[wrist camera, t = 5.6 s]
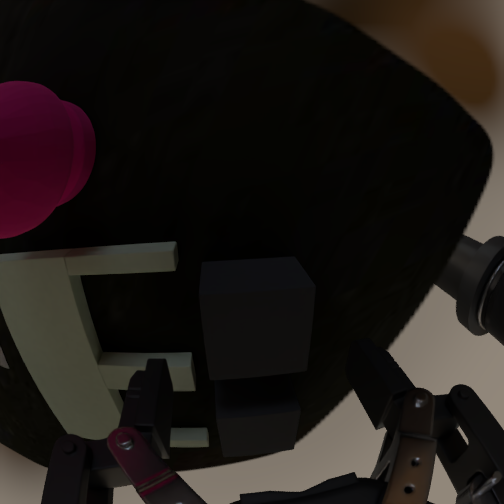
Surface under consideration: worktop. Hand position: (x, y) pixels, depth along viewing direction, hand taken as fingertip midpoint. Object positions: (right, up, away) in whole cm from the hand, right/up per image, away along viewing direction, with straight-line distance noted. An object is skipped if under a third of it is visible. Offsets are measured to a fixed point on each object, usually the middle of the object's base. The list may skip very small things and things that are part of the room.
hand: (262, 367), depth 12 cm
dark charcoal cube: (-1, +2, +6) cm, 6 cm away
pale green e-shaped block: (-11, -3, +7) cm, 14 cm away
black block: (0, -7, +9) cm, 11 cm away
